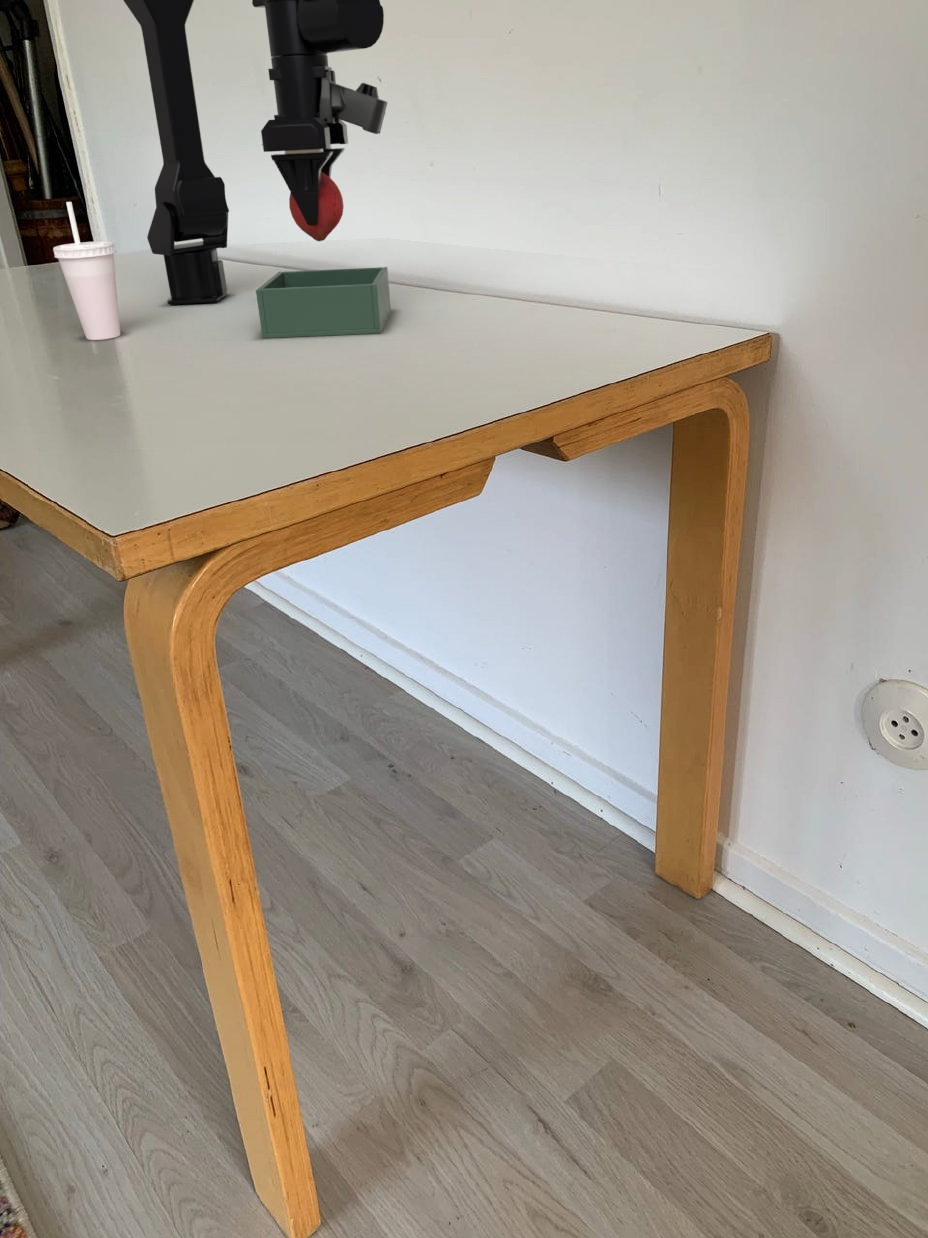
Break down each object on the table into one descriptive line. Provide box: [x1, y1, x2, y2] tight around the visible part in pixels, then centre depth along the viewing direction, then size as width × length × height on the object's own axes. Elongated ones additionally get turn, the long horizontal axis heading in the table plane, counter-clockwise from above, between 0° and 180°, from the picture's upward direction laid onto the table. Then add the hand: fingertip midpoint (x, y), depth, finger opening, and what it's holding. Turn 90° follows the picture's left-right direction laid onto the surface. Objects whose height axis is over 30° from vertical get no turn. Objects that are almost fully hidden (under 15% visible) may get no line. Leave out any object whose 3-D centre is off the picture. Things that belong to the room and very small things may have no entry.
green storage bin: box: [255, 266, 392, 339], centre depth 107 cm, size 13×13×5 cm
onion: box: [288, 172, 344, 242], centre depth 103 cm, size 6×6×8 cm
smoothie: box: [52, 201, 122, 341], centre depth 104 cm, size 6×6×14 cm
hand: (317, 221), depth 104 cm, fingers closed on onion, 6 cm apart
